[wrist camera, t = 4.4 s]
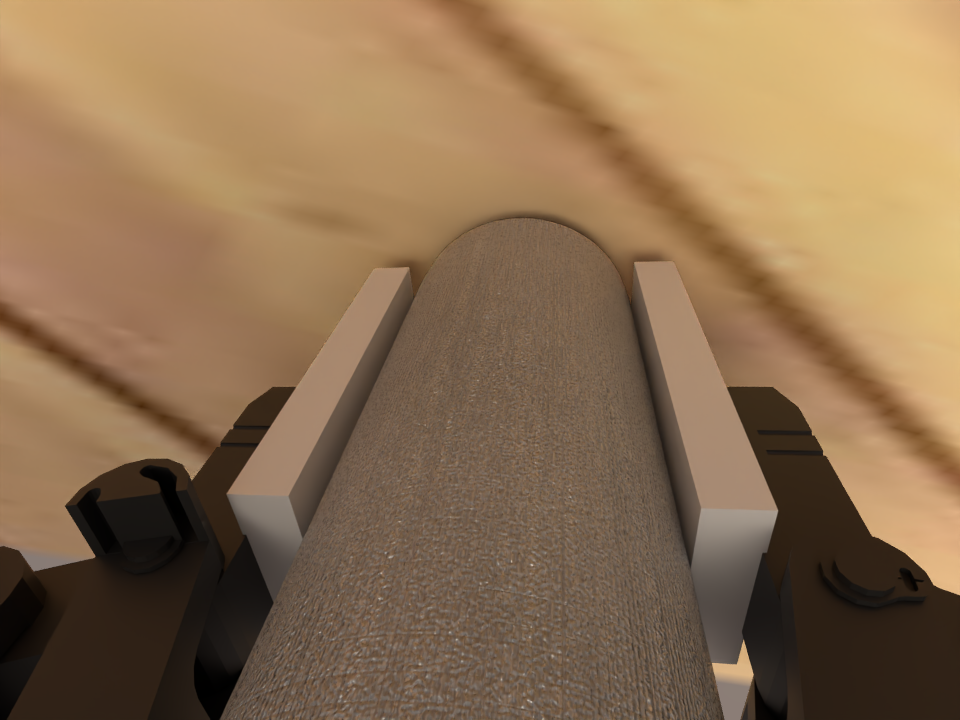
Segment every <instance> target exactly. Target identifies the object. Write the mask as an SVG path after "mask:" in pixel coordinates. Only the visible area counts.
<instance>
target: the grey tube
mask: <svg viewBox="0 0 960 720" xmlns="http://www.w3.org/2000/svg"><path fill="white" fill-rule="evenodd" d="M220 720H724V716H723V712H722V707H721V703H720V698H719V694H718V690H717V685H716V681H715V676H714V672H713V667H712V663H711V658H710V654H709V650H708V645H707V641H706V636H705V632H704V627H703V623H702V619H701V614H700V610H699V605H698V601H697V596H696V592H695V588H694V583H693V579H692V574H691V570H690V565H689V561H688V557H687V552H686V548H685V543H684V539H683V534H682V530H681V526H680V521H679V517H678V512H677V508H676V503H675V499H674V495H673V490H672V486H671V481H670V477H669V472H668V468H667V464H666V459H665V455H664V450H663V446H662V441H661V437H660V433H659V428H658V424H657V419H656V415H655V410H654V406H653V402H652V397H651V393H650V388H649V384H648V379H647V375H646V370H645V366H644V362H643V357H642V353H641V348H640V344H639V339H638V335H637V331H636V326H635V322H634V317H633V313H632V308H631V304H630V301H629V298H628V295H627V292H626V289H625V287H624V284H623V281H622V279H621V277H620V274H619V272H618V271H617V269H616V267H615V266H614V264H613V263H612V262H611V260H610V259H609V258H608V256H607V255H606V254H605V253H604V252H603V251H602V250H601V249H600V248H599V247H598V246H597V245H596V244H595V243H593V242H592V241H591V240H589V239H588V238H586V237H585V236H583V235H582V234H580V233H578V232H577V231H575V230H573V229H571V228H569V227H566V226H563V225H561V224H557V223H554V222H550V221H546V220H541V219H534V218H512V219H503V220H498V221H494V222H490V223H487V224H484V225H481V226H479V227H476V228H474V229H472V230H470V231H468V232H466V233H464V234H463V235H461V236H460V237H458V238H457V239H456V240H454V241H453V242H452V243H451V244H449V245H448V246H447V247H446V248H445V249H444V250H443V251H442V252H441V253H440V255H439V256H438V257H437V258H436V260H435V261H434V263H433V264H432V266H431V268H430V269H429V271H428V272H427V274H426V276H425V277H424V279H423V281H422V283H421V285H420V287H419V289H418V291H417V293H416V296H415V298H414V300H413V302H412V304H411V306H410V309H409V311H408V313H407V315H406V317H405V319H404V322H403V324H402V326H401V328H400V330H399V332H398V335H397V337H396V339H395V341H394V343H393V345H392V348H391V350H390V352H389V354H388V356H387V358H386V361H385V363H384V365H383V367H382V369H381V371H380V374H379V376H378V378H377V380H376V382H375V384H374V387H373V389H372V391H371V393H370V395H369V397H368V400H367V402H366V404H365V406H364V408H363V410H362V413H361V415H360V417H359V419H358V421H357V423H356V426H355V428H354V430H353V432H352V434H351V436H350V439H349V441H348V443H347V445H346V447H345V449H344V452H343V454H342V456H341V458H340V460H339V462H338V465H337V467H336V469H335V471H334V473H333V475H332V478H331V480H330V482H329V484H328V486H327V488H326V491H325V493H324V495H323V497H322V499H321V501H320V504H319V506H318V508H317V510H316V512H315V514H314V517H313V519H312V521H311V523H310V525H309V527H308V530H307V532H306V534H305V536H304V538H303V540H302V543H301V545H300V547H299V549H298V551H297V553H296V556H295V558H294V560H293V562H292V564H291V566H290V569H289V571H288V573H287V575H286V577H285V579H284V582H283V584H282V586H281V588H280V590H279V592H278V595H277V597H276V599H275V601H274V603H273V605H272V608H271V610H270V612H269V614H268V616H267V618H266V621H265V623H264V625H263V627H262V629H261V631H260V634H259V636H258V638H257V640H256V642H255V644H254V647H253V649H252V651H251V653H250V655H249V657H248V660H247V662H246V664H245V666H244V668H243V670H242V673H241V675H240V677H239V679H238V681H237V683H236V686H235V688H234V690H233V692H232V694H231V696H230V699H229V701H228V703H227V705H226V707H225V709H224V712H223V714H222V716H221V718H220Z"/></svg>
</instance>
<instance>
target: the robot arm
mask: <svg viewBox="0 0 960 720" xmlns="http://www.w3.org/2000/svg"><path fill="white" fill-rule="evenodd" d="M413 300H414V295H413V288H412V281H411V274H410V267H400V268H374V269H373V271H372V272H371V274H370V275H369V277H368V278H367V280H366V281H365V283H364V284H363V286H362V287H361V289H360V291H359V292H358V294H357V295H356V297H355V298H354V300H353V301H352V303H351V304H350V306H349V307H348V309H347V310H346V312H345V313H344V315H343V317H342V318H341V320H340V321H339V323H338V324H337V326H336V327H335V329H334V330H333V332H332V333H331V335H330V336H329V338H328V339H327V341H326V343H325V344H324V346H323V347H322V349H321V350H320V352H319V353H318V355H317V356H316V358H315V359H314V361H313V362H312V364H311V365H310V367H309V369H308V370H307V372H306V373H305V375H304V376H303V378H302V379H301V381H300V382H299V384H298V385H297V387H272V388H271V389H270V390H268V391H267V392H265V393H264V394H263V395H261V396H260V397H259V398H257V399H256V400H254V401H253V402H252V403H250V404H249V405H248V406H247V408H246V409H245V410H244V412H243V413H242V414H241V416H240V417H239V418H238V420H237V421H236V422H235V424H234V425H233V430H229V432H228V433H227V435H226V436H225V437H224V439H223V440H222V441H221V446H220V447H217V448H216V449H215V451H214V452H213V453H212V455H211V456H210V457H209V459H208V460H207V462H206V463H205V464H204V466H203V467H202V468H201V470H200V471H199V472H198V474H197V475H196V476H195V478H194V479H193V480H192V481H191V479H190V476H189V474H188V473H187V471H186V470H185V468H184V467H183V465H182V464H180V463H177V462H175V461H172V460H169V459H145V460H141V461H137V462H132V463H128V464H124V465H122V466H120V467H118V468H115V469H113V470H111V471H109V472H106V473H104V474H102V475H100V476H99V477H97V478H96V479H94V480H93V481H91V482H90V483H89V484H87V485H86V486H84V487H83V488H81V489H80V490H79V491H78V492H77V493H76V494H75V496H74V497H73V498H72V499H71V500H70V501H69V502H68V503H67V504H66V505H65V507H66V509H67V510H68V512H69V513H70V515H71V517H72V518H73V520H74V522H75V523H76V525H77V526H78V528H79V530H80V531H81V533H82V535H83V536H84V538H85V539H86V541H87V543H88V544H89V546H90V548H91V549H92V551H93V553H94V554H95V556H96V557H95V558H93V559H88V560H84V561H79V562H75V563H70V564H66V565H62V566H57V567H52V568H48V569H43V570H39V571H35V572H34V571H33V570H32V569H31V567H30V566H29V564H28V563H27V561H26V560H25V559H24V558H23V556H22V554H21V553H20V552H19V551H18V550H15V549H11V548H8V547H4V546H3V547H0V720H220V718H221V716H222V714H223V712H224V709H225V707H226V705H227V703H228V701H229V699H230V696H231V694H232V692H233V690H234V688H235V686H236V683H237V681H238V679H239V677H240V675H241V673H242V670H243V668H244V666H245V664H246V662H247V660H248V657H249V655H250V653H251V651H252V649H253V647H254V644H255V642H256V640H257V638H258V636H259V634H260V631H261V629H262V627H263V625H264V623H265V621H266V618H267V616H268V614H269V612H270V610H271V608H272V605H273V603H274V601H275V599H276V597H277V595H278V592H279V590H280V588H281V586H282V584H283V582H284V579H285V577H286V575H287V573H288V571H289V569H290V566H291V564H292V562H293V560H294V558H295V556H296V553H297V551H298V549H299V547H300V545H301V543H302V540H303V538H304V536H305V534H306V532H307V530H308V527H309V525H310V523H311V521H312V519H313V517H314V514H315V512H316V510H317V508H318V506H319V504H320V501H321V499H322V497H323V495H324V493H325V491H326V488H327V486H328V484H329V482H330V480H331V478H332V475H333V473H334V471H335V469H336V467H337V465H338V462H339V460H340V458H341V456H342V454H343V452H344V449H345V447H346V445H347V443H348V441H349V439H350V436H351V434H352V432H353V430H354V428H355V426H356V423H357V421H358V419H359V417H360V415H361V413H362V410H363V408H364V406H365V404H366V402H367V400H368V397H369V395H370V393H371V391H372V389H373V387H374V384H375V382H376V380H377V378H378V376H379V374H380V371H381V369H382V367H383V365H384V363H385V361H386V358H387V356H388V354H389V352H390V350H391V348H392V345H393V343H394V341H395V339H396V337H397V335H398V332H399V330H400V328H401V326H402V324H403V322H404V319H405V317H406V315H407V313H408V311H409V309H410V306H411V304H412V302H413ZM631 308H632V313H633V317H634V322H635V326H636V331H637V335H638V339H639V344H640V348H641V353H642V357H643V362H644V366H645V370H646V375H647V379H648V384H649V388H650V393H651V397H652V402H653V406H654V410H655V415H656V419H657V424H658V428H659V433H660V437H661V441H662V446H663V450H664V455H665V459H666V464H667V468H668V472H669V477H670V481H671V486H672V490H673V495H674V499H675V503H676V508H677V512H678V517H679V521H680V526H681V530H682V534H683V539H684V543H685V548H686V552H687V557H688V561H689V565H690V570H691V574H692V579H693V583H694V588H695V592H696V596H697V601H698V605H699V610H700V614H701V619H702V623H703V627H704V632H705V636H706V641H707V645H708V650H709V654H710V658H711V663H724V664H737V661H738V658H739V654H740V650H741V647H742V643H743V639H744V642H745V645H746V649H747V652H748V656H749V659H750V663H751V666H752V670H753V673H754V676H753V679H752V682H751V686H750V689H749V692H748V696H747V699H746V702H745V706H744V709H743V712H742V716H741V720H960V595H957V594H954V593H951V592H949V591H946V590H943V589H940V588H938V587H936V586H934V585H933V583H932V582H931V580H930V578H929V577H928V575H927V573H926V572H925V571H924V570H923V569H922V568H921V567H919V566H918V565H917V564H916V563H915V562H914V561H913V560H912V559H911V558H910V557H909V556H907V555H906V554H905V553H904V552H902V551H900V550H898V549H897V548H895V547H893V546H891V545H889V544H888V543H886V542H884V541H882V540H880V539H879V538H876V537H872V536H871V534H870V532H869V531H868V529H867V527H866V525H865V523H864V522H863V520H862V518H861V516H860V515H859V513H858V511H857V509H856V508H855V506H854V504H853V502H852V501H851V499H850V497H849V495H848V494H847V492H846V490H845V488H844V487H843V485H842V483H841V481H840V480H839V478H838V476H837V474H836V473H835V471H834V469H833V467H832V466H831V464H830V462H829V460H828V459H827V457H826V456H823V450H822V448H821V446H820V444H819V443H818V441H817V439H816V437H815V436H812V430H811V429H810V427H809V425H808V423H807V422H806V420H805V418H804V416H803V415H802V413H801V411H800V409H799V408H798V407H797V406H796V405H795V404H794V403H792V402H791V401H790V400H788V399H787V398H786V397H785V396H783V395H782V394H781V393H780V392H778V391H777V390H776V389H774V388H773V387H726V385H725V382H724V380H723V378H722V375H721V373H720V370H719V368H718V366H717V363H716V361H715V358H714V356H713V354H712V351H711V349H710V347H709V344H708V342H707V339H706V337H705V335H704V332H703V330H702V327H701V325H700V323H699V320H698V318H697V315H696V313H695V311H694V308H693V306H692V304H691V301H690V299H689V296H688V294H687V292H686V289H685V287H684V284H683V282H682V280H681V277H680V275H679V272H678V270H677V268H676V265H675V263H674V261H656V262H634V270H633V284H632V299H631Z"/></svg>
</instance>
